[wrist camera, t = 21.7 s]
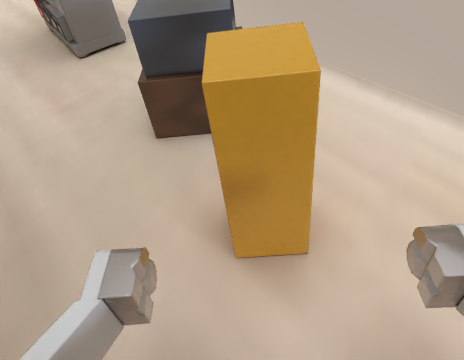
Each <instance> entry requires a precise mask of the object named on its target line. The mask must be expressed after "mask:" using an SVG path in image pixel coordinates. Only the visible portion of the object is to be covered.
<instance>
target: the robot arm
mask: <svg viewBox="0 0 464 360" xmlns="http://www.w3.org/2000/svg"><path fill="white" fill-rule="evenodd" d="M413 237H414V239H415V240H413V241H412V242H410V243H409V245H408V248H407V261H408V265H409V268H410V270H411V273H412V274H413V275H414V276H416V277H417V278H418V279H419V283H418V286H417V288H418V290H419V293H420V295H421V298H422V300H423V303H424V305H425V307H426V308H443V307H457V308H456V309H457V310H458V311H459V312H460V313H461V314H462V315H463V316H464V224H456V225H452V224H450V225H439V226H427V227H418V228H416V229H415V230H414V232H413ZM148 257H149V252H148V250H147V249H146V248H130V249H111V250H98V251H97V252H96V253H95V255H94V256H93V259H92V262H91V265H90V268H89V272H88V275H87V278H86V281H85V284H84V288H83V291H82V294H81V297H80V300H77V301H74V302H73V303H72V304H71V305H70V306H69V307H68V308H67V310H66V311H65V312H64V313H63V314H62V315H61V316H60V317H59V318H58V319H57V320H56V321H55V322H54V323H53V324H52V325H51V326H50V327H49V328H48V329H47V331H46V332H45V333H44V334H43V335H42V336H41V337H40V338H39V339H38V340H37V341H36V342H35V343H34V344H33V345H32V346H31V347H30V348H29V349H28V351H27V352H26V353H25V354H24V355H23V356H22V357H21V358H20V359H19V360H102V358H103V357H104V355H105V354H106V352H107V351H108V350H109V348H110V347H111V345H112V344H113V342H114V341H115V339H116V338H117V337H118V335H119V334H120V332H121V331H122V329H123V328H124V326H123V325H135V324H147V323H150V321H151V315H152V308H153V301H152V299H151V298H150V295H151V294H152V293H153V292H154V291H155V289H156V282H157V271H156V267H155V264H154V262H153V261H152V260H150V259H148Z"/></svg>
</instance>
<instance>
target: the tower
mask: <svg viewBox="0 0 464 360" xmlns="http://www.w3.org/2000/svg"><path fill="white" fill-rule="evenodd" d="M128 23H129V26H130V30H131V33H132V36H133V39H134V42H135V45H136V49H137V52H138V55H139V58H140V61H141V64H142V68H143V69H142V72H141V75H140V78H139V81H138V85H139V88H140V91H141V94H142V97H143V100H144V103H145V105H146V108H147V111H148V114H149V117H150V120H151V123H152V126H153V129H154V132H155V135H156V138H161V137H172V136H183V135H193V134H204V133H211V129H210V123H209V118H208V113H207V108H206V103H205V98H204V93H203V87H202V75H203V66H204V57H205V48H206V38H207V33H213V32H221V31H230V30H239V29H242V27H236V25H235V15H234V5H233V0H138V1H137V3H136V5H135V7H134V9H133V11H132V13H131V15H130V17H129V19H128Z"/></svg>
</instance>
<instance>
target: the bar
mask: <svg viewBox="0 0 464 360" xmlns="http://www.w3.org/2000/svg"><path fill="white" fill-rule="evenodd" d="M320 74H321V70H320V67H319V65H318V62H317V59H316V56H315V53H314V51H313V48H312V45H311V42H310V40H309V37H308V34H307V31H306V28H305V26H304V23H303V22H301V23H291V24H282V25H274V26H265V27H256V28H247V29H239V30H230V31H221V32H213V33H207V38H206V48H205V57H204V66H203V75H202V87H203V93H204V98H205V103H206V108H207V113H208V118H209V123H210V129H211V134H212V139H213V144H214V149H215V154H216V159H217V165H218V170H219V175H220V180H221V185H222V190H223V195H224V201H225V206H226V211H227V216H228V221H229V226H230V231H231V236H232V242H233V247H234V252H235V257H236V258H242V257H257V256H272V255H288V254H303V253H308V245H309V230H310V216H311V202H312V188H313V173H314V159H315V145H316V131H317V117H318V102H319V88H320Z"/></svg>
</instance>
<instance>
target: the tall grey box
mask: <svg viewBox="0 0 464 360" xmlns="http://www.w3.org/2000/svg"><path fill="white" fill-rule="evenodd" d="M34 1H35V3H36V5H37V7H38V10H39V12H40V14H41V16H42V17H43V18H44V20H45V22H46V24H47V25H48V26H49V27H50V28H51V29H52V30H53V31H54V32H55V33H56V34H57V36H58V37H59V38H60V39H61V40H62V41H63V42H64V43H65V44H66V45H67V46H68V47H69V48H70V49H71V50H72V51H73V52H74V53H75V54H76V55H77V56H78V57H85V56H87V55H88V53H91V52H93V51H96V50H99V49H101V48H104V47H107V46H109V45H112V44H115V43H121V42H123V41H124V40H125V39H126V37H125V34H124V31H123V29H121V26H120V23H119V21H118V18H117V15H116V12H115V9H114V6H113V3H112V0H34Z"/></svg>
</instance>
